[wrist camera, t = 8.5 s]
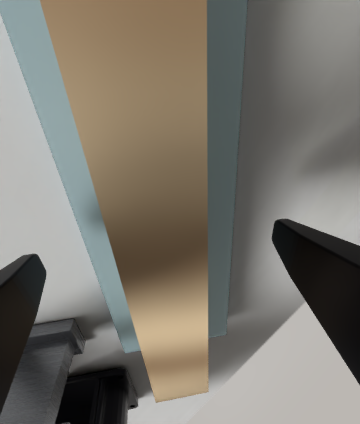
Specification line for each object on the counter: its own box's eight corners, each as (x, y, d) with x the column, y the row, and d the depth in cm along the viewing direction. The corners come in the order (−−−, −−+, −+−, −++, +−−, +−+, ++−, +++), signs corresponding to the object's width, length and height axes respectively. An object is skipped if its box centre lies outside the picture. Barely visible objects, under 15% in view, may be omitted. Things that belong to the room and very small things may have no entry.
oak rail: (197, 339, 15) (208, 392, 13) (154, 347, 15) (156, 402, 12) (173, -154, 5) (204, -405, 2) (36, -157, 5) (-87, -439, 2)
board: (221, 319, 16) (226, 334, 15) (126, 335, 16) (125, 353, 15) (239, -114, 6) (257, -153, 5) (-24, -112, 6) (-61, -156, 5)
